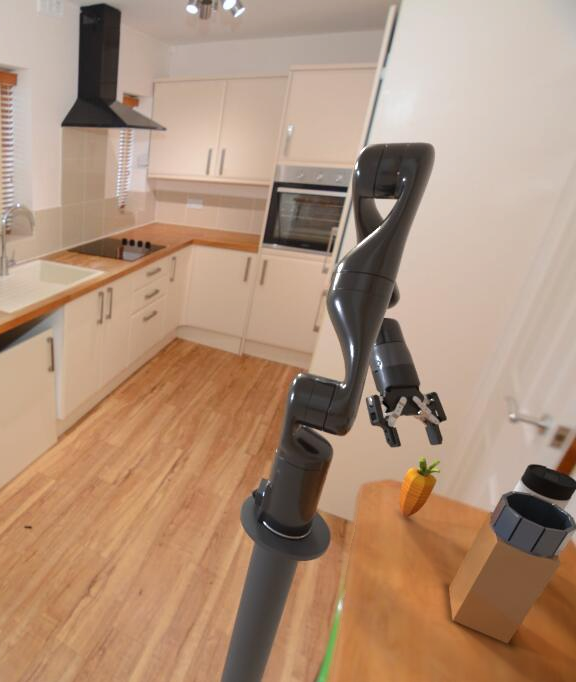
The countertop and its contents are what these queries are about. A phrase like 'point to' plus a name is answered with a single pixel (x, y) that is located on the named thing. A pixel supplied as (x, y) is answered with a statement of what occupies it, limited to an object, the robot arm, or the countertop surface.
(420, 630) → the countertop surface
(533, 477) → the travel mug
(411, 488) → the carrot
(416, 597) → the countertop surface
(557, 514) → the pad socket
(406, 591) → the countertop surface
